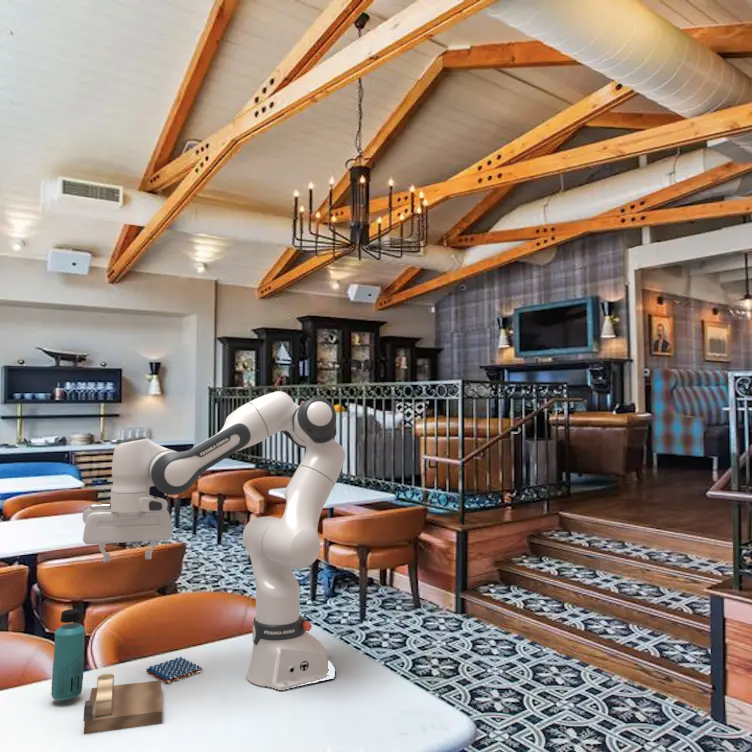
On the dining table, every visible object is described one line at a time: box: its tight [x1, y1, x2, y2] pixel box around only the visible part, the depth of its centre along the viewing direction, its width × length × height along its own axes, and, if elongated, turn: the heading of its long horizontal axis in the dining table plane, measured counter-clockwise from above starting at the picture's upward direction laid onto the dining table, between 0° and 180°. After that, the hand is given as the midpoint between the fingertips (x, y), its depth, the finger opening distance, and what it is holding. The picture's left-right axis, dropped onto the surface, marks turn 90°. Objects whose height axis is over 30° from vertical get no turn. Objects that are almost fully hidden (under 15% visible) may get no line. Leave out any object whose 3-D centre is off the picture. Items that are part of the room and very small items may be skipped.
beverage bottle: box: [50, 608, 86, 701], centre depth 140 cm, size 6×7×20 cm
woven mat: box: [145, 656, 203, 685], centre depth 156 cm, size 10×11×2 cm
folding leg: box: [95, 673, 115, 716], centre depth 134 cm, size 14×3×3 cm, turn 22°
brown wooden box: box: [83, 679, 163, 735], centre depth 135 cm, size 15×16×6 cm
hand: (127, 560), depth 150 cm, fingers open, 8 cm apart
